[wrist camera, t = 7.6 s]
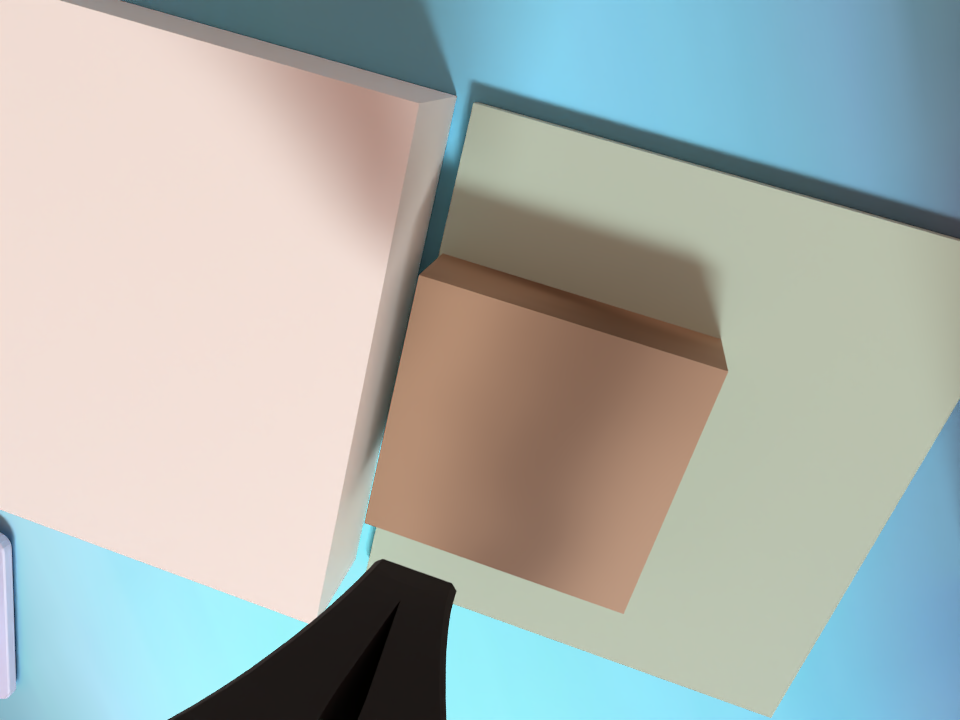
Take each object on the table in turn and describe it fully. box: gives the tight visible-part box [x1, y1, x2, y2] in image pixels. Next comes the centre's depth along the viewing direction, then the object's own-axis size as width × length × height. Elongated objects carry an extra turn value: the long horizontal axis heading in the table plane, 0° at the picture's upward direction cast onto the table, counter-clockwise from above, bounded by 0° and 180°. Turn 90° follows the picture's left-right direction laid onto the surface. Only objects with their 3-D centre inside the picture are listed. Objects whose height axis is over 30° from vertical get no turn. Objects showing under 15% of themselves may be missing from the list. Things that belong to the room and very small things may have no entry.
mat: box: [366, 102, 960, 718], centre depth 19 cm, size 12×14×1 cm
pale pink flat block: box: [0, 0, 457, 624], centre depth 19 cm, size 10×14×3 cm
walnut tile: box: [365, 253, 728, 614], centre depth 18 cm, size 7×7×2 cm
